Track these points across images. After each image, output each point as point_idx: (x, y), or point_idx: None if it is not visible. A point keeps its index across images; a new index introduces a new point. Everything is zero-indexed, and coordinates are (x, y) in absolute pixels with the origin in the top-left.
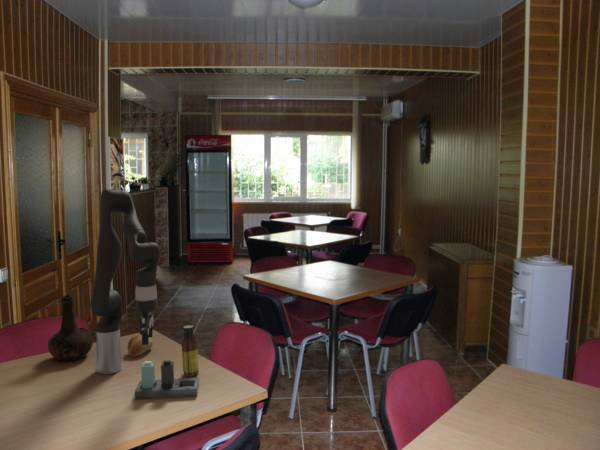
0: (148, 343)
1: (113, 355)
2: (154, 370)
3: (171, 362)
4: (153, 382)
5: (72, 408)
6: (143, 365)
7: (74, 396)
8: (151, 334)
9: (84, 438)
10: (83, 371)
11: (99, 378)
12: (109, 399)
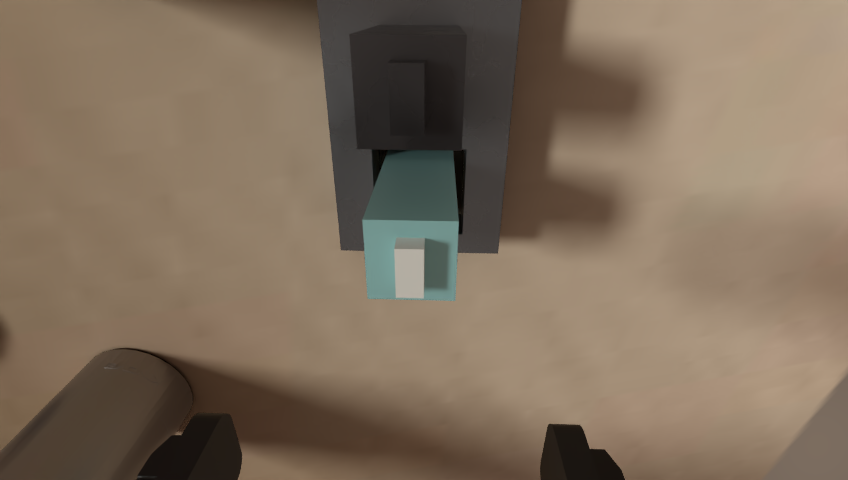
0: (572, 429)
1: (116, 443)
2: (377, 192)
3: (377, 54)
4: (436, 169)
5: (525, 430)
6: (428, 290)
7: (415, 444)
8: (208, 452)
9: (816, 350)
10: None
11: (237, 404)
12: (466, 334)
